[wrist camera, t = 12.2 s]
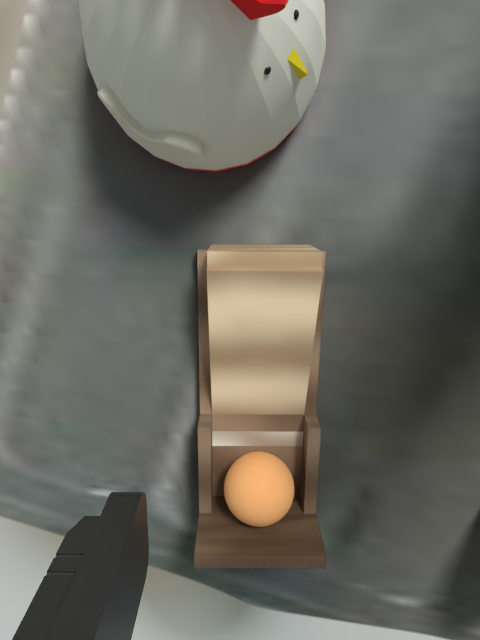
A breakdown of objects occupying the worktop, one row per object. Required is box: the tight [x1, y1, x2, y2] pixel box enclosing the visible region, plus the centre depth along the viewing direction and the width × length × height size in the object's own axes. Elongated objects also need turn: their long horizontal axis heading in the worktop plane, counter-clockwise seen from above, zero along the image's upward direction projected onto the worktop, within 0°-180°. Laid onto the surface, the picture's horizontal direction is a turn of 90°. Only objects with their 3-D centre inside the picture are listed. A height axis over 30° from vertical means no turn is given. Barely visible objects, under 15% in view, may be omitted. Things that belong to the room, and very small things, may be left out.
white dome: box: [79, 0, 326, 172], centre depth 20 cm, size 14×14×15 cm
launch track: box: [194, 244, 326, 568], centre depth 30 cm, size 20×9×9 cm, turn 0°
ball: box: [224, 451, 294, 527], centre depth 31 cm, size 5×5×5 cm
